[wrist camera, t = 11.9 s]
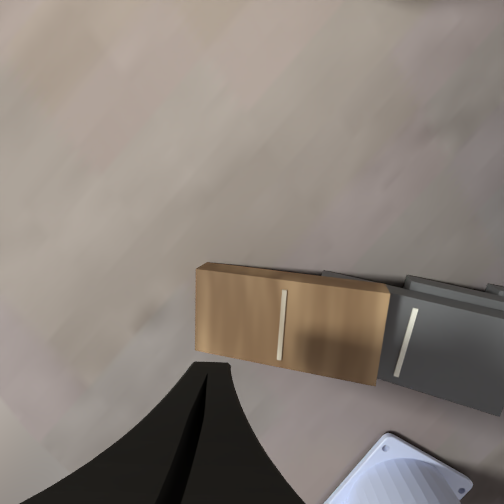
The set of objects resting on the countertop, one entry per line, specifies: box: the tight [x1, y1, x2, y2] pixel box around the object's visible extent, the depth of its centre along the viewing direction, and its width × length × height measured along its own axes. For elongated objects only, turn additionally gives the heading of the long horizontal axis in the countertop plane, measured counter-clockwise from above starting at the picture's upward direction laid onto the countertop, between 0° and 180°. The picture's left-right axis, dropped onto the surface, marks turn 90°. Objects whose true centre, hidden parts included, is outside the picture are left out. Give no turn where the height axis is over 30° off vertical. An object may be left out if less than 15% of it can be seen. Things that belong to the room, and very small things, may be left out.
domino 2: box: [321, 270, 504, 417], centre depth 17 cm, size 2×5×10 cm
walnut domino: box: [195, 262, 390, 386], centre depth 17 cm, size 2×5×10 cm
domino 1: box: [403, 275, 504, 311], centre depth 17 cm, size 2×5×10 cm
